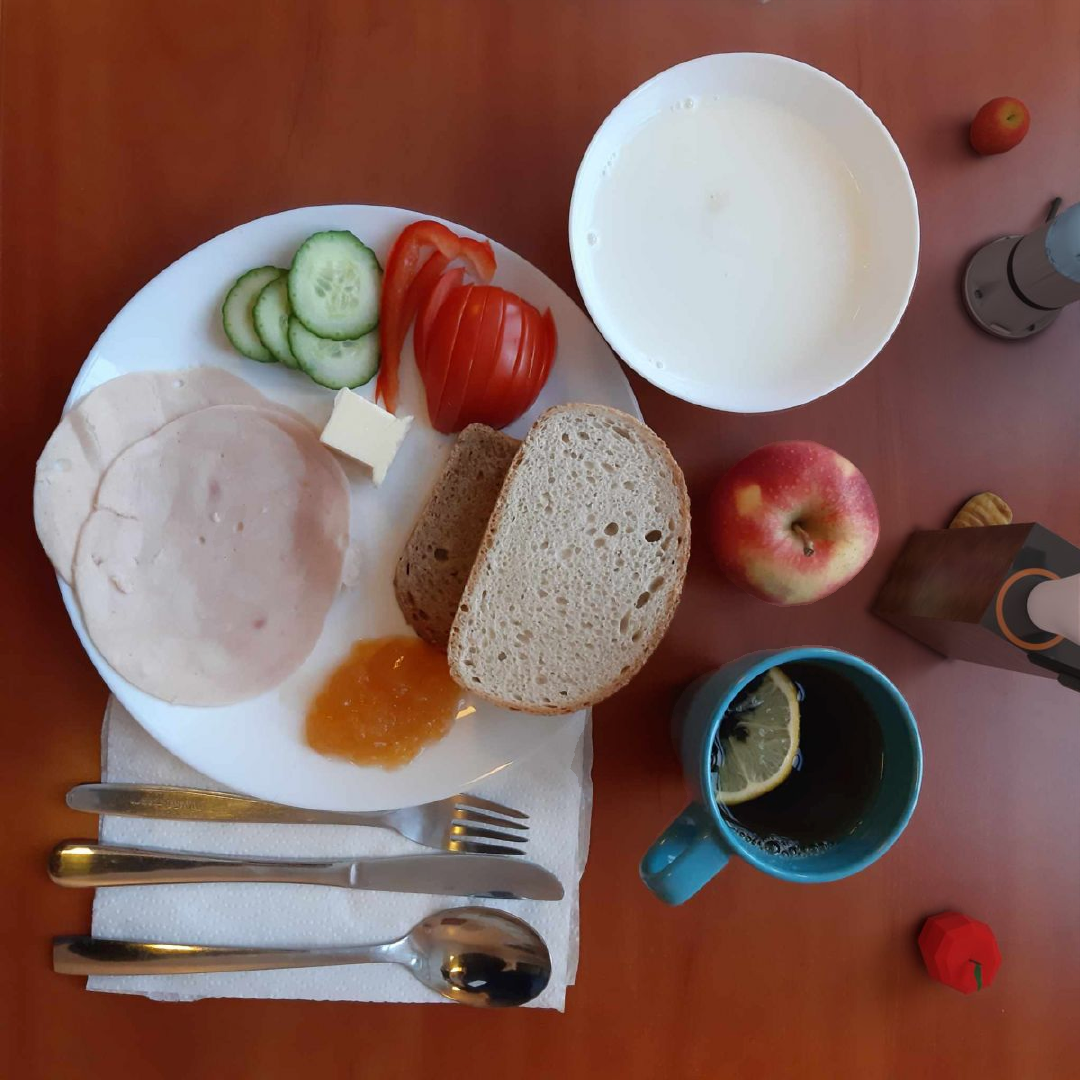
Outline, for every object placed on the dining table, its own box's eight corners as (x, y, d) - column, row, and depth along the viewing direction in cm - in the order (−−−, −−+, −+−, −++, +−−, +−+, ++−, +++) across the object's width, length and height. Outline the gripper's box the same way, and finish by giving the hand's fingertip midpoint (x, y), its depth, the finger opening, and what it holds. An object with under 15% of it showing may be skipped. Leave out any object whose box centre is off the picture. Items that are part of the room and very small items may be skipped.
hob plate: (1035, 521, 101) (1036, 521, 100) (1133, 582, 101) (1135, 582, 101) (978, 623, 100) (979, 624, 100) (1077, 684, 101) (1079, 684, 100)
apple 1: (910, 899, 127) (947, 928, 117) (979, 903, 128) (1021, 932, 118) (905, 971, 127) (941, 1006, 117) (974, 975, 127) (1016, 1010, 117)
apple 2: (1016, 133, 131) (1050, 106, 124) (991, 175, 131) (1022, 150, 123) (975, 105, 131) (1006, 76, 123) (949, 147, 131) (978, 120, 123)
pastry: (962, 560, 129) (977, 560, 125) (934, 526, 129) (948, 524, 125) (1008, 522, 130) (1024, 520, 126) (981, 487, 130) (995, 485, 126)
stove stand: (917, 529, 129) (1036, 519, 101) (994, 576, 129) (1134, 580, 101) (870, 610, 128) (978, 623, 100) (948, 658, 128) (1077, 684, 101)
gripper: (1242, 810, 82) (1012, 709, 96) (1353, 582, 83) (1111, 516, 97) (1244, 799, 76) (1000, 694, 91) (1364, 555, 78) (1105, 489, 92)
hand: (1057, 601), depth 94 cm, fingers open, 13 cm apart
